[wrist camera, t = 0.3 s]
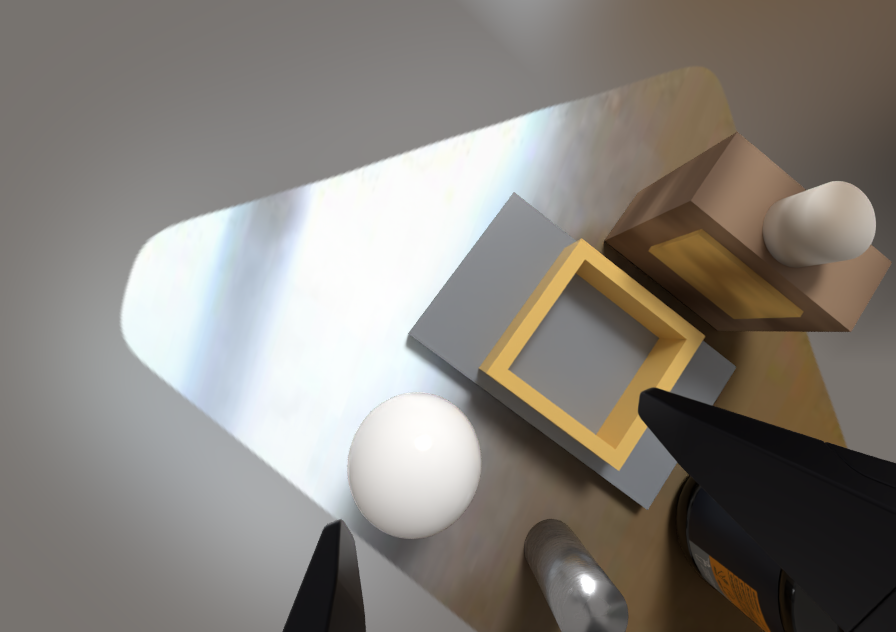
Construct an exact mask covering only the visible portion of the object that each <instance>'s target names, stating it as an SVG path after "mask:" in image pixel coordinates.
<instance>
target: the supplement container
mask: <svg viewBox="0 0 896 632" xmlns="http://www.w3.org/2000/svg"><path fill="white" fill-rule="evenodd" d="M676 528H677V534H678V539H679V542H680V545H681V548H682V550H683V553H684V555H685V556H686V558H687V560H688V562H689V563H690V565H691V566H692V567H693V569H694V570H695V571H696V572H697V574H698V575H699V576H700V577H701V578H702V579H703V580H704V581H706V582H707V583H708V584H709V585H710V586H712V587H713V588H714V589H716V590H717V591H719V592H720V593H721V594H722V595H723V596H725V597H726V598H727V599H728V600H729V601H730V602H732V603H733V604H734V605H735V606H736V607H737V608H738V609H740V610H741V611H742V612H743V613H744V614H745V615H747V616H748V617H749V618H750V619H751V620H752V621H753V622H755V623H756V624H757V625H758V626H759V627H760V628H762V629H763V630H764V631H765V632H844V631H843V630H842V629H841V628H840V627H839V626H838V625H837V624H836V623H835V622H834V621H833V620H832V619H831V618H830V617H829V616H828V615H827V614H826V613H825V612H824V611H823V610H822V609H821V608H820V607H819V606H818V605H817V604H816V603H815V602H814V600H813V599H812V598H811V597H810V596H809V595H808V594H807V593H806V592H805V591H804V590H803V589H802V588H801V587H800V586H799V585H798V584H797V583H796V582H795V581H794V580H793V579H792V578H791V577H790V576H789V575H788V574H787V573H786V572H785V571H784V570H783V569H782V568H781V567H780V566H779V565H778V564H777V563H776V562H775V561H774V560H773V559H772V558H771V557H770V556H769V555H768V554H767V553H766V552H765V551H764V550H763V549H762V548H761V547H760V546H759V545H758V544H757V543H756V542H755V541H754V540H753V539H752V538H751V537H750V536H749V535H748V534H747V533H746V532H745V531H744V530H743V529H742V528H741V527H740V526H739V525H738V524H737V523H736V522H735V521H734V520H733V519H732V518H731V517H730V516H729V514H728V513H727V512H726V511H725V510H724V509H723V508H722V507H721V506H720V505H719V504H718V503H717V502H716V501H715V500H714V499H713V498H712V497H711V496H710V495H709V494H708V493H707V492H706V491H705V490H704V489H703V488H702V487H701V486H700V485H699V484H698V483H697V482H696V481H695V480H694V479H693V478H692V477H691V476H690V477H689V479H688V480H687V482H686V483H685V485H684V487H683V489H682V492H681V494H680V497H679V500H678V505H677V511H676Z"/></svg>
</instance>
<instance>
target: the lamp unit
mask: <svg viewBox="0 0 896 632" xmlns="http://www.w3.org/2000/svg"><path fill="white" fill-rule="evenodd" d="M875 229H876V219H875V214H874V210H873V207H872V205H871V203H870V201H869V200H868V198H867V197H866V195H865V194H864V193H863V192H862V191H861V190H860V189H858V188H857V187H856V186H854V185H852V184H850V183H847V182H842V181H834V182H829V183H826V184H823V185H821V186H818V187H815V188H812V189H809V190H806V189H804V188H803V187H802V186H801V185H799V184H798V183H797V182H796V181H795V180H794V179H792V178H791V177H790V176H789V175H788V174H787V173H785V172H784V171H783V170H782V169H781V168H779V167H778V166H777V165H776V164H775V163H774V162H772V161H771V160H770V159H769V158H768V157H766V156H765V155H764V154H763V153H762V152H761V151H759V150H758V149H757V148H756V147H755V146H753V145H752V144H751V143H750V142H749V141H747V140H746V139H745V138H744V137H743V136H742V135H740V134H739V133H738V132H736V133H735V134H733V135H731V136H730V137H728V138H726V139H725V140H723V141H721V142H720V143H718V144H717V145H715V146H713V147H712V148H710V149H708V150H707V151H705V152H703V153H702V154H700V155H699V156H697V157H695V158H694V159H692V160H690V161H689V162H687V163H685V164H684V165H682V166H681V167H679V168H677V169H676V170H674V171H672V172H671V173H669V174H668V175H666V176H664V177H663V178H661V179H659V180H658V181H656V182H654V183H653V184H651V185H650V186H648V187H646V188H645V189H643V190H641V191H640V192H638V193H637V195H636V196H635V198H634V199H633V201H632V202H631V203H630V205H629V206H628V208H627V209H626V211H625V212H624V213H623V215H622V216H621V218H620V219H619V221H618V222H617V223H616V225H615V226H614V228H613V229H612V231H611V232H610V233H609V235H608V236H607V238H606V239H605V242H607V243H608V244H609V245H610V246H612V247H613V248H614V249H615V250H617V251H618V252H619V253H620V254H622V255H623V256H624V257H626V258H627V259H628V260H629V261H631V262H632V263H633V264H634V265H636V266H637V267H638V268H639V269H641V270H642V271H643V272H644V273H646V274H647V275H648V276H650V277H651V278H652V279H653V280H655V281H656V282H657V283H658V284H660V285H661V286H662V287H663V288H665V289H666V290H667V291H668V292H670V293H671V294H672V295H674V296H675V297H676V298H677V299H679V300H680V301H681V302H682V303H684V304H685V305H686V306H687V307H689V308H690V309H691V310H692V311H694V312H695V313H696V314H698V315H699V316H700V317H701V318H703V319H704V320H705V321H706V322H708V323H709V324H710V325H711V326H713V327H714V328H715V329H716V330H718V331H802V332H810V331H811V332H816V331H817V332H851V331H852V329H853V328H854V326H855V324H856V323H857V321H858V319H859V317H860V316H861V314H862V312H863V311H864V309H865V307H866V306H867V304H868V302H869V300H870V299H871V297H872V295H873V294H874V292H875V290H876V289H877V287H878V285H879V283H880V282H881V280H882V278H883V277H884V275H885V273H886V272H887V270H888V268H889V266H890V265H891V263H892V262H891V261H890V260H889V259H887V258H886V257H885V256H884V255H883V254H881V253H880V252H879V251H878V250H877V249H876V248H874V247H873V246H872V245H871V243H872V241H873V238H874V234H875Z"/></svg>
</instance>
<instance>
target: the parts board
mask: <svg viewBox="0 0 896 632" xmlns="http://www.w3.org/2000/svg"><path fill="white" fill-rule="evenodd" d="M408 334H409V335H411V336H412V337H413V338H415V339H416V340H417V341H419V342H420V343H421V344H423V345H424V346H426V347H427V348H428V349H430V350H431V351H432V352H434V353H435V354H436V355H438V356H439V357H440V358H442V359H443V360H445V361H446V362H447V363H449V364H450V365H451V366H453V367H454V368H455V369H457V370H458V371H459V372H461V373H462V374H464V375H465V376H466V377H468V378H469V379H470V380H472V381H473V382H474V383H476V384H477V385H478V386H480V387H481V388H483V389H484V390H485V391H487V392H488V393H489V394H491V395H492V396H493V397H495V398H496V399H498V400H499V401H500V402H502V403H503V404H504V405H506V406H507V407H508V408H510V409H511V410H512V411H514V412H515V413H517V414H518V415H519V416H521V417H522V418H523V419H525V420H526V421H527V422H529V423H530V424H531V425H533V426H534V427H536V428H537V429H538V430H540V431H541V432H542V433H544V434H545V435H546V436H548V437H549V438H550V439H552V440H553V441H555V442H556V443H557V444H559V445H560V446H561V447H563V448H564V449H565V450H567V451H568V452H569V453H571V454H572V455H574V456H575V457H576V458H578V459H579V460H580V461H582V462H583V463H584V464H586V465H587V466H588V467H590V468H591V469H593V470H594V471H595V472H597V473H598V474H599V475H601V476H602V477H603V478H605V479H606V480H608V481H609V482H610V483H612V484H613V485H614V486H616V487H617V488H618V489H620V490H621V491H622V492H624V493H625V494H627V495H628V496H629V497H631V498H632V499H633V500H635V501H636V502H637V503H639V504H640V505H641V506H643V507H644V508H646V509H647V510H648V508H649V507H650V505H651V504H652V502H653V500H654V499H655V497H656V495H657V494H658V492H659V491H660V489H661V487H662V486H663V484H664V483H665V481H666V479H667V478H668V476H669V475H670V473H671V471H672V470H673V468H674V467H675V465H676V463H677V461H676V460H675V459H674V458H673V457H672V456H671V454H670V453H669V452H668V451H667V450H666V448H665V447H664V446H663V445H662V444H661V442H660V441H659V440H658V439H657V438H656V436H655V435H654V434H653V433H652V432H651V430H650V429H649V428H648V427H647V426H646V424H645V423H644V422H643V421H642V420H641V418H640V416H639V414H638V403H639V395H640V393H641V392H642V391H644V390H646V389H649V388H652V387H655V388H659V389H662V390H665V391H668V392H672V393H675V394H678V395H681V396H684V397H687V398H690V399H693V400H697V401H700V402H703V403H706V404H709V405H713V404H714V402H715V401H716V399H717V397H718V396H719V394H720V393H721V391H722V389H723V388H724V386H725V385H726V383H727V381H728V380H729V378H730V377H731V375H732V373H733V372H734V370H735V369H736V366H735V365H733V364H732V363H731V362H730V361H728V360H727V359H726V358H724V357H723V356H722V355H721V354H719V353H718V352H717V351H716V350H714V349H713V348H712V347H710V346H709V345H708V344H707V343H705V342H704V341H703V339H704V338H705V335H703V334H702V333H701V332H700V331H698V330H697V329H696V328H695V327H693V326H692V325H691V324H689V323H688V322H687V321H686V320H684V319H683V318H682V317H681V316H679V315H678V314H677V313H676V312H674V311H673V310H672V309H670V308H669V307H668V306H667V305H665V304H664V303H663V302H662V301H660V300H659V299H658V298H656V297H655V296H654V295H653V294H651V293H650V292H649V291H648V290H646V289H645V288H644V287H643V286H641V285H640V284H639V283H637V282H636V281H635V280H634V279H632V278H631V277H630V276H629V275H627V274H626V273H625V272H624V271H622V270H621V269H620V268H618V267H617V266H616V265H615V264H613V263H612V262H611V261H610V260H608V259H607V258H606V257H604V256H603V255H602V254H601V253H599V252H598V251H597V250H596V249H594V248H593V247H592V246H591V245H589V244H588V243H587V242H585V241H584V240H583V239H580V240H578V241H576V240H574V239H573V238H572V237H571V236H569V235H568V234H567V233H566V232H564V231H563V230H562V229H560V228H559V227H558V226H557V225H555V224H554V223H553V222H552V221H550V220H549V219H548V218H546V217H545V216H544V215H543V214H541V213H540V212H539V211H538V210H536V209H535V208H534V207H532V206H531V205H530V204H529V203H527V202H526V201H525V200H524V199H522V198H521V197H520V196H518V195H517V194H516V193H515V192H514V193H513V194H512V196H511V197H510V198H509V200H508V201H507V202H506V204H505V205H504V206H503V208H502V209H501V210H500V212H499V213H498V214H497V216H496V217H495V218H494V220H493V221H492V222H491V224H490V225H489V226H488V228H487V229H486V230H485V232H484V233H483V234H482V236H481V237H480V238H479V240H478V241H477V242H476V244H475V245H474V246H473V248H472V249H471V250H470V252H469V253H468V254H467V256H466V257H465V258H464V260H463V261H462V262H461V264H460V265H459V266H458V268H457V269H456V270H455V272H454V273H453V274H452V276H451V277H450V278H449V280H448V281H447V282H446V284H445V285H444V286H443V288H442V289H441V290H440V292H439V293H438V294H437V296H436V297H435V298H434V300H433V301H432V302H431V304H430V305H429V306H428V308H427V309H426V310H425V312H424V313H423V314H422V316H421V317H420V318H419V320H418V321H417V322H416V324H415V325H414V326H413V328H412V329H411V330H410V332H409V333H408Z"/></svg>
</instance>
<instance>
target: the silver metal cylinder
mask: <svg viewBox="0 0 896 632" xmlns="http://www.w3.org/2000/svg"><path fill="white" fill-rule="evenodd" d="M524 551H525V556H526V559H527V561H528V563H529V565H530V567H531V570H532V572H533V574H534V576H535V578H536V580H537V582H538V584H539V586H540V588H541V590H542V592H543V594H544V596H545V598H546V600H547V602H548V605H549V607H550V609H551V611H552V613H553V615H554V617H555V619H556V621H557V623H558V625H559V627H560V629H561V631H562V632H625V631H626V628H627V624H628V609H627V604H626V602H625V599H624V597H623V596H622V594H621V593H620V592H619V590H618V589H617V588H616V586H615V585H614V584H613V583H612V581H611V580H610V579H609V578H608V576H607V575H606V574H605V572H604V571H603V570H602V569H601V567H600V566H599V565H598V563H597V562H596V561H595V560H594V558H593V557H592V556H591V554H590V553H589V552H588V551H587V549H586V548H585V547H584V545H583V544H582V543H581V542H580V540H579V539H578V538H577V537H576V535H575V534H574V533H573V531H572V530H571V529H570V528H569V527H568V525H566V524H565V523H563V522H562V521H559V520H555V519H547V520H543V521H541V522H539V523H537V524H536V525H535V526H534V527H533V528H532V529H531V530H530V531H529V533H528V535H527V537H526V540H525V545H524Z"/></svg>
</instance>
